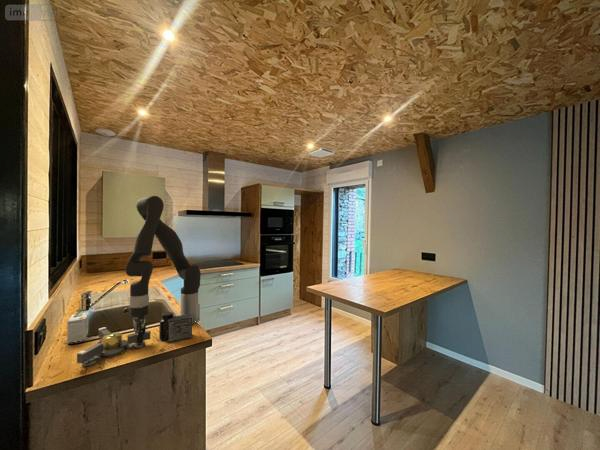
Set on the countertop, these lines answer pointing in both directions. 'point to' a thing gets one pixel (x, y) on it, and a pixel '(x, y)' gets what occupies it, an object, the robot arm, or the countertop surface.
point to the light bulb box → (77, 327)
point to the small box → (179, 328)
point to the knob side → (103, 332)
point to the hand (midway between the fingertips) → (139, 341)
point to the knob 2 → (133, 337)
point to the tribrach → (112, 348)
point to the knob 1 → (89, 353)
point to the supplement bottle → (164, 326)
